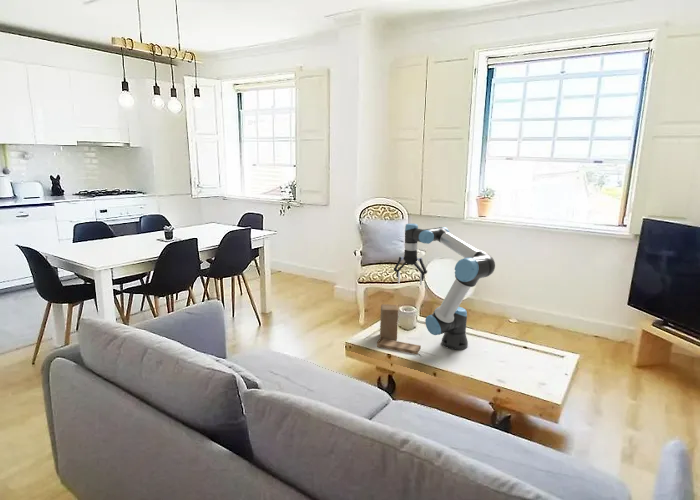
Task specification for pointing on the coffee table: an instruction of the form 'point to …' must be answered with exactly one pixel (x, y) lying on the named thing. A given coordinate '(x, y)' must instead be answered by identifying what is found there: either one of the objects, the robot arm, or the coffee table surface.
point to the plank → (398, 346)
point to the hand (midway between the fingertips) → (409, 283)
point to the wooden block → (389, 322)
